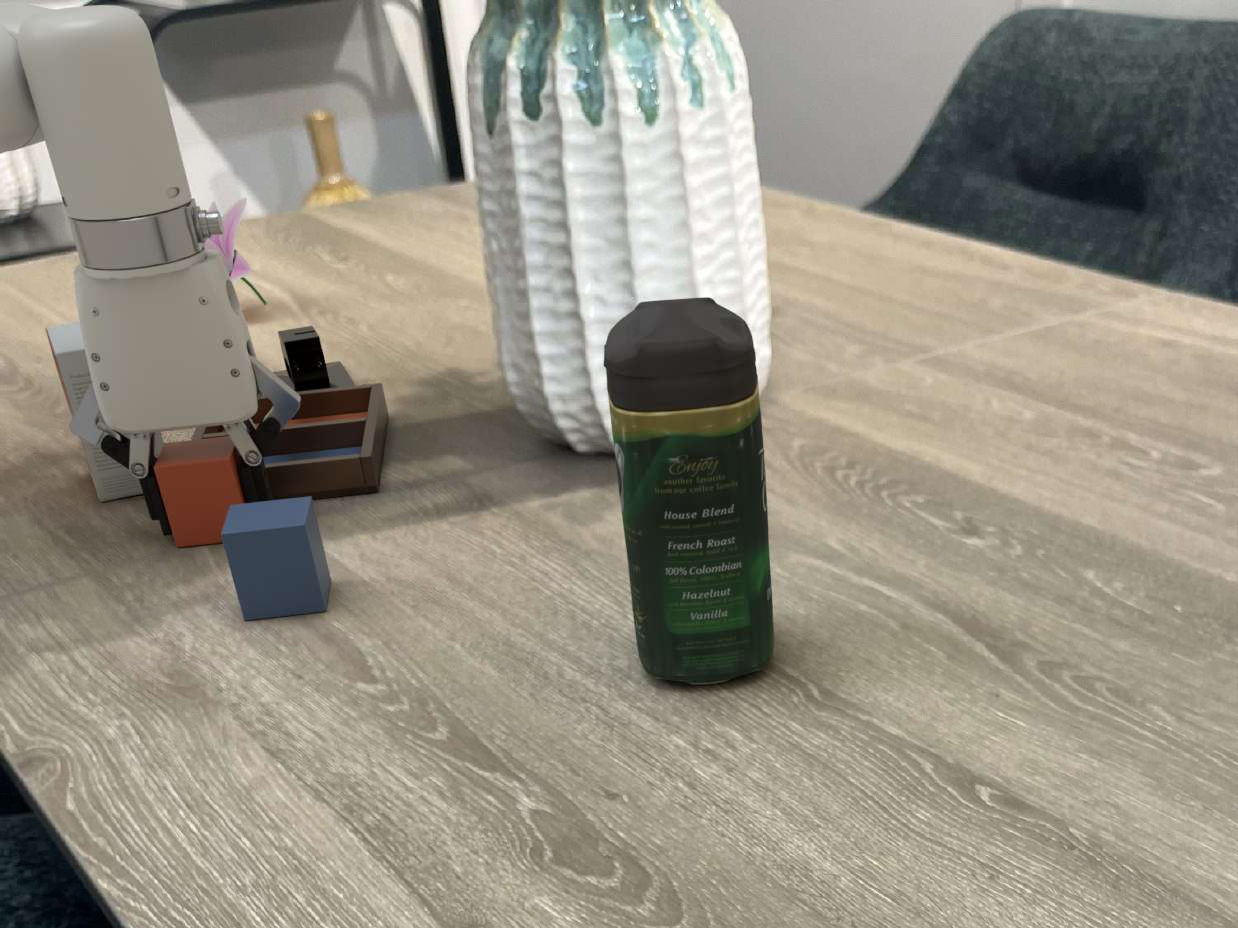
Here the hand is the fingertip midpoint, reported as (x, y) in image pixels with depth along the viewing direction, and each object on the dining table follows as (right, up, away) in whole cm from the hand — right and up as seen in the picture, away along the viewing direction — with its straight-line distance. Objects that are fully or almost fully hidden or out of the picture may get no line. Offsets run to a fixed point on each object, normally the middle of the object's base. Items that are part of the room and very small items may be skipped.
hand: (215, 520), depth 118 cm
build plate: (0, +18, +25) cm, 31 cm away
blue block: (+8, -8, -10) cm, 15 cm away
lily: (-14, +34, +46) cm, 59 cm away
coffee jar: (+35, -14, -20) cm, 42 cm away
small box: (-10, +6, +10) cm, 15 cm away
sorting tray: (+2, +8, +11) cm, 14 cm away
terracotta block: (0, -1, 0) cm, 1 cm away
